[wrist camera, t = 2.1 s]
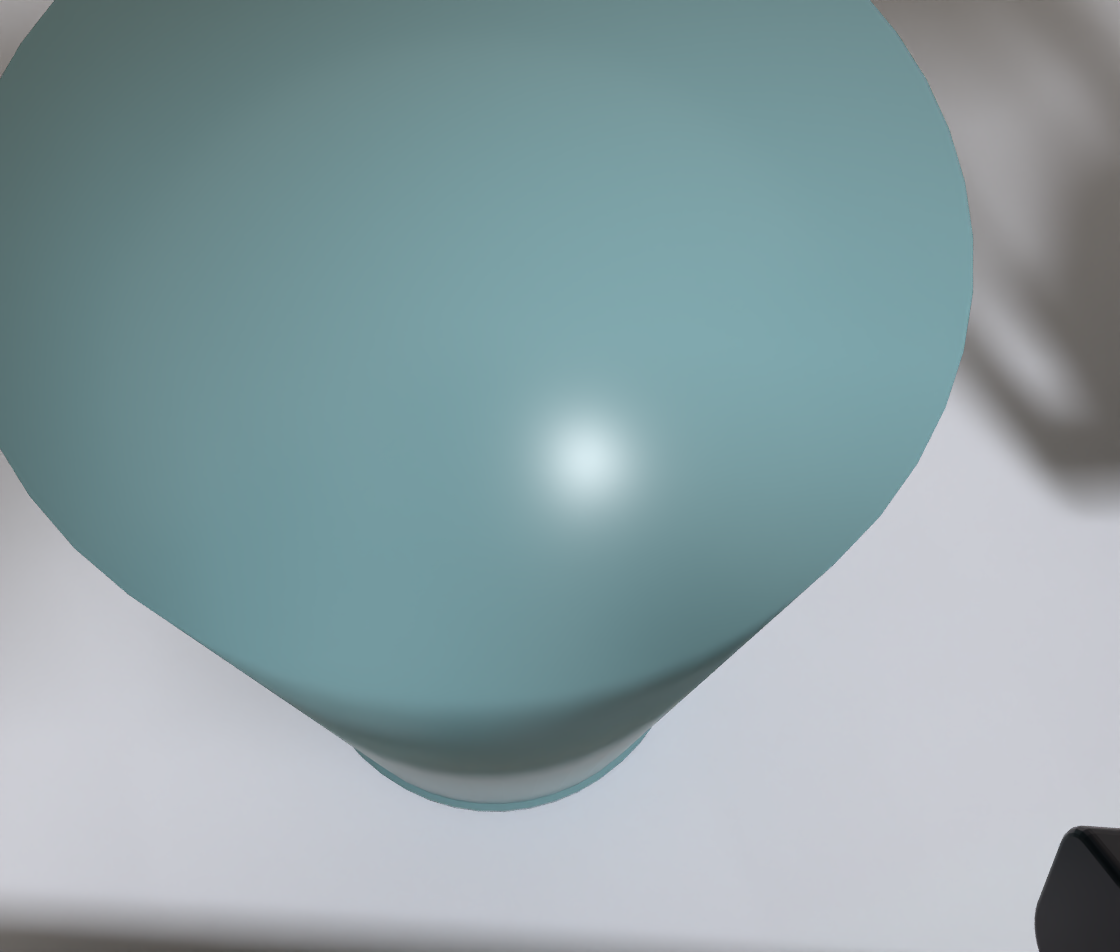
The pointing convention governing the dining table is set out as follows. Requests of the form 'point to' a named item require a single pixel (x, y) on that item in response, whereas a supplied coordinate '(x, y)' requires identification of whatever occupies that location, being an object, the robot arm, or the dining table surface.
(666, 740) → the dining table surface
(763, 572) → the tumbler
